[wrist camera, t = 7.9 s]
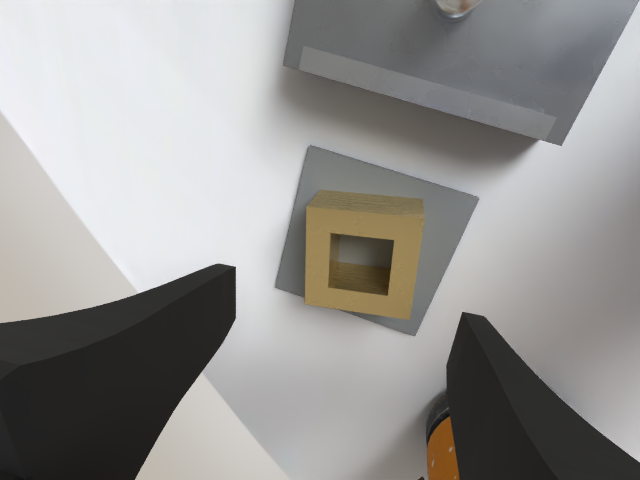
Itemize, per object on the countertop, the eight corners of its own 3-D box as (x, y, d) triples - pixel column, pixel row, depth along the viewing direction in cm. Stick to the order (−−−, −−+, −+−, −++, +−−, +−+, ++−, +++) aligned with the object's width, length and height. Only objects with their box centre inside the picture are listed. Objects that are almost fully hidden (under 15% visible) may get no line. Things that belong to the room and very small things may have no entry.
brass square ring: (423, 198, 19) (424, 218, 17) (409, 289, 21) (409, 319, 19) (320, 189, 20) (306, 206, 18) (317, 277, 22) (304, 304, 20)
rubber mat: (477, 196, 19) (479, 199, 19) (414, 332, 23) (415, 336, 23) (310, 145, 20) (308, 146, 20) (277, 284, 24) (275, 287, 23)
